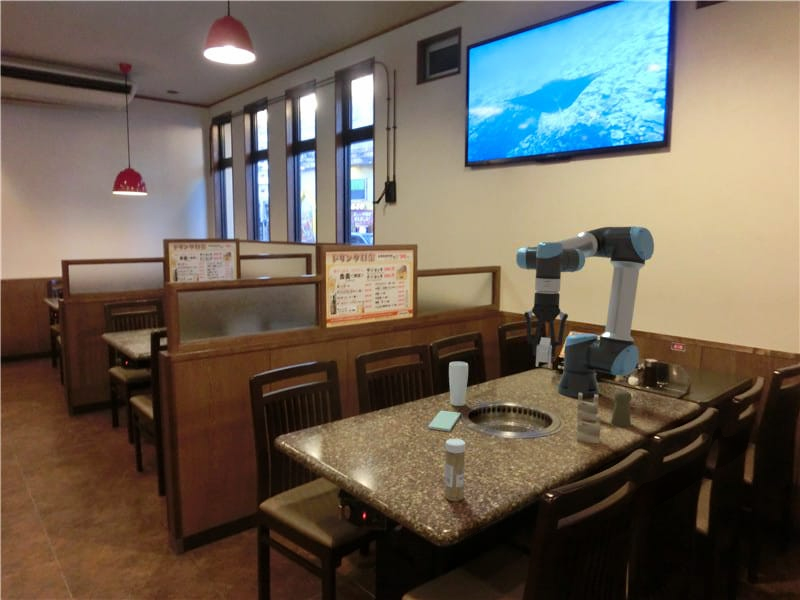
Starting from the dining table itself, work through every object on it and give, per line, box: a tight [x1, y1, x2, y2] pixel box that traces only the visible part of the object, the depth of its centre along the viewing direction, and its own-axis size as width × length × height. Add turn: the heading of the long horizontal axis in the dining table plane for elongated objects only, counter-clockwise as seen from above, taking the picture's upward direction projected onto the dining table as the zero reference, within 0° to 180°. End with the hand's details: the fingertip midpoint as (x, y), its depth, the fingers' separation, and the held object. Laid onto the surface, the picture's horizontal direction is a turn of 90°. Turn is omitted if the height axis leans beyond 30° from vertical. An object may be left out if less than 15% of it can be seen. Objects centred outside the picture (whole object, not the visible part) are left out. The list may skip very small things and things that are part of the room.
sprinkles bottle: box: [444, 438, 466, 502], centre depth 123 cm, size 5×5×14 cm
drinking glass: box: [448, 361, 469, 407], centre depth 190 cm, size 7×7×15 cm
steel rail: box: [537, 336, 551, 364], centre depth 167 cm, size 24×3×3 cm, turn 163°
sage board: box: [427, 410, 462, 433], centre depth 173 cm, size 16×7×1 cm, turn 161°
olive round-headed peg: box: [610, 390, 632, 428], centre depth 173 cm, size 6×6×11 cm
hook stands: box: [576, 393, 602, 445], centre depth 168 cm, size 24×6×8 cm, turn 161°
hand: (543, 366), depth 168 cm, fingers closed on steel rail, 3 cm apart
